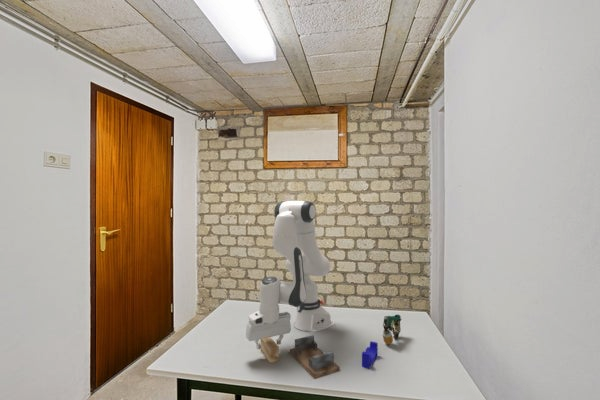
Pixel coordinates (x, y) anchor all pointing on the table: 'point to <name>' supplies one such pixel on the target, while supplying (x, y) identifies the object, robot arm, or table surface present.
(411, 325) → the table surface
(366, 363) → the cable clip
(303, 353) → the wooden clamp fixture
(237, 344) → the table surface
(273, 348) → the top rail
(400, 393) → the table surface
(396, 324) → the spray gun
